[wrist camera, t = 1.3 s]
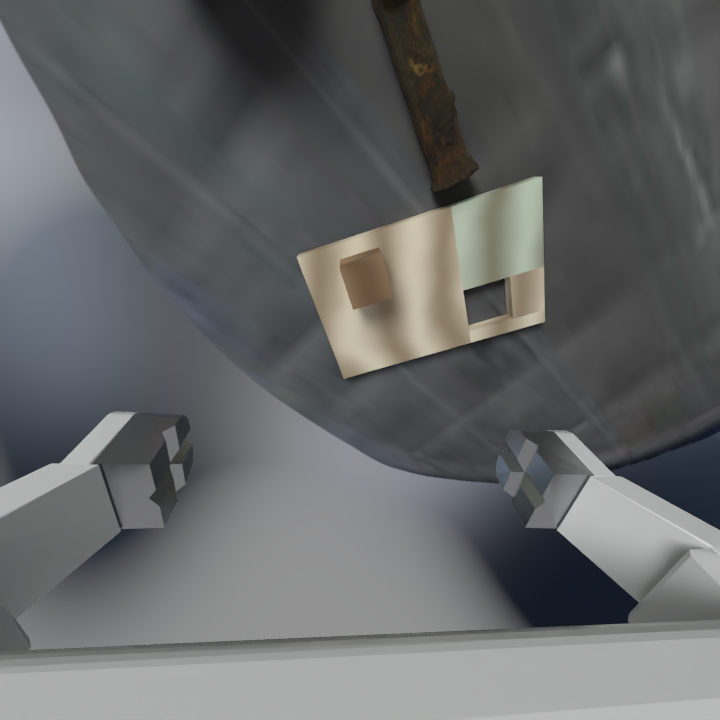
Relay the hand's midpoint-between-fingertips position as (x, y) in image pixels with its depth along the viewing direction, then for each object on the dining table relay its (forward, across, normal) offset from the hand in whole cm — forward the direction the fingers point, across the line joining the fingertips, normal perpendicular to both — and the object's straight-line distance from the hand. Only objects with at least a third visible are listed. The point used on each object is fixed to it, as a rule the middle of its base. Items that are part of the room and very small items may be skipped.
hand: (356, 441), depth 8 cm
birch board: (+28, -10, +3) cm, 30 cm away
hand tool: (+29, -4, -15) cm, 33 cm away
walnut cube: (+27, -3, +2) cm, 27 cm away
